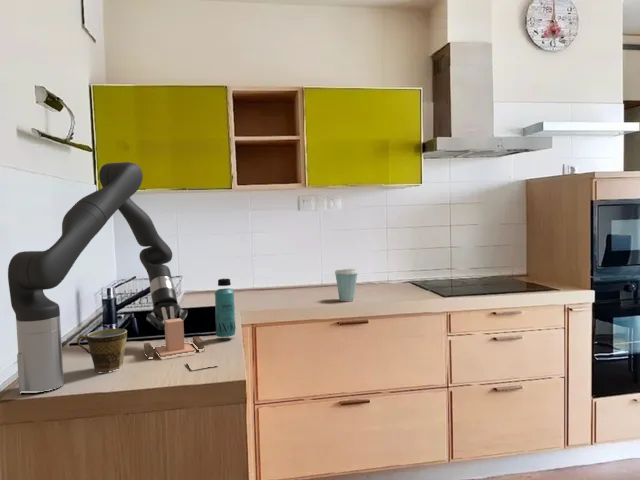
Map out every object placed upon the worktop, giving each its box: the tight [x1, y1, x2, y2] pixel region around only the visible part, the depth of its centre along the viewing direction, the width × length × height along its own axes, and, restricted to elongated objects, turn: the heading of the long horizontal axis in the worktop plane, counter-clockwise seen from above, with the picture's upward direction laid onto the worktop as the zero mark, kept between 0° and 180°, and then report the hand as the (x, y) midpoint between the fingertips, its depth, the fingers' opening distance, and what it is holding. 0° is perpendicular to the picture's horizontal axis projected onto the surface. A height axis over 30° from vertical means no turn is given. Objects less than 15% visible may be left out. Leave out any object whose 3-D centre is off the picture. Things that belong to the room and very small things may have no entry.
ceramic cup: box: [76, 328, 128, 373], centre depth 134 cm, size 13×10×10 cm
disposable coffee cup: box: [334, 267, 359, 302], centre depth 230 cm, size 11×11×15 cm
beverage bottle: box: [214, 278, 237, 338], centre depth 163 cm, size 6×7×20 cm
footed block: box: [154, 317, 197, 357], centre depth 148 cm, size 10×10×10 cm
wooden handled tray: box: [143, 335, 205, 358], centre depth 149 cm, size 16×8×3 cm, turn 117°
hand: (172, 338), depth 150 cm, fingers closed
